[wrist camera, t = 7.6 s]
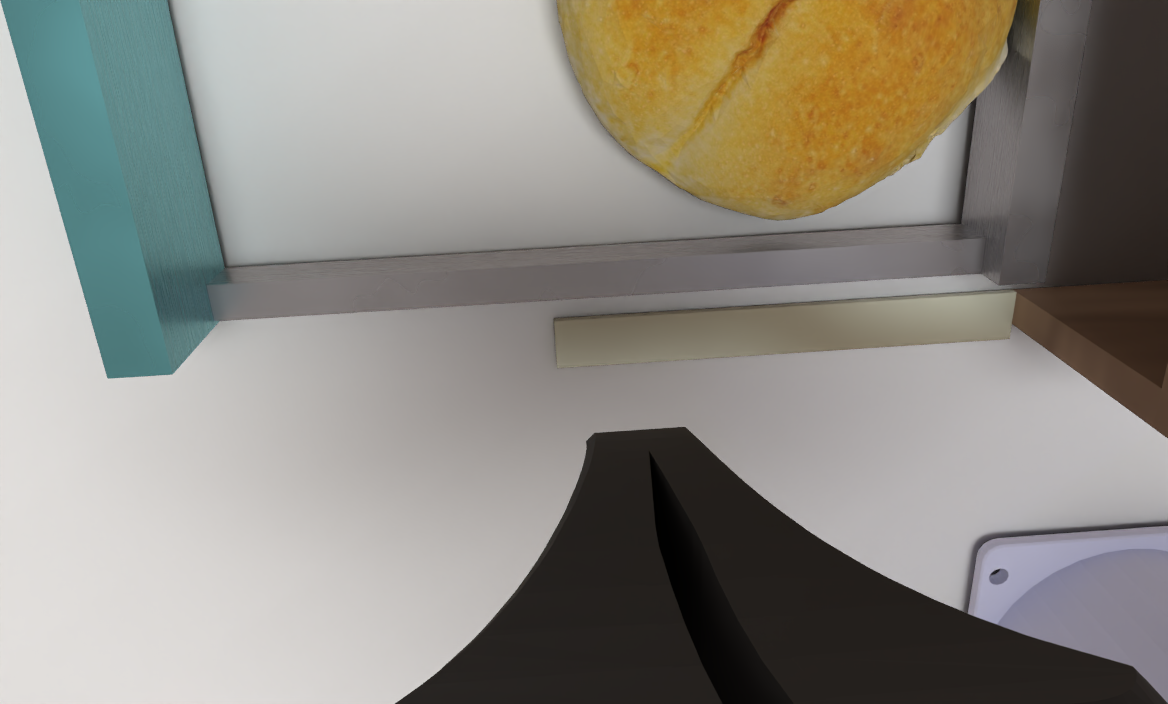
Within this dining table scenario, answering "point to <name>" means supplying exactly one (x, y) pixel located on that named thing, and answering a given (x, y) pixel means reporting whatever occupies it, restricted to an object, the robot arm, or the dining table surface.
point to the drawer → (213, 293)
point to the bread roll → (781, 89)
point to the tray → (912, 332)
